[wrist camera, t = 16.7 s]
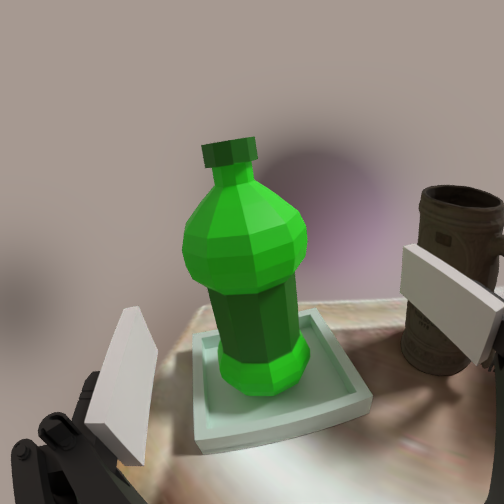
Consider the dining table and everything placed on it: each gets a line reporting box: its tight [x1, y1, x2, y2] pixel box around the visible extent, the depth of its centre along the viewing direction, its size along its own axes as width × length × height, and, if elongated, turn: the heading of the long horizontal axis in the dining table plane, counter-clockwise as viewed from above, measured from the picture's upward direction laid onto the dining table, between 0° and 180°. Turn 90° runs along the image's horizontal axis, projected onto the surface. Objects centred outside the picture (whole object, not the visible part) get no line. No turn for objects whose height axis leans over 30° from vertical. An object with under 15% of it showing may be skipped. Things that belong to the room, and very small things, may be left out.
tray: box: [192, 308, 373, 455], centre depth 31 cm, size 17×17×3 cm
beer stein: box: [401, 185, 504, 375], centre depth 25 cm, size 15×11×20 cm
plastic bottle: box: [182, 137, 311, 396], centre depth 26 cm, size 10×10×25 cm
